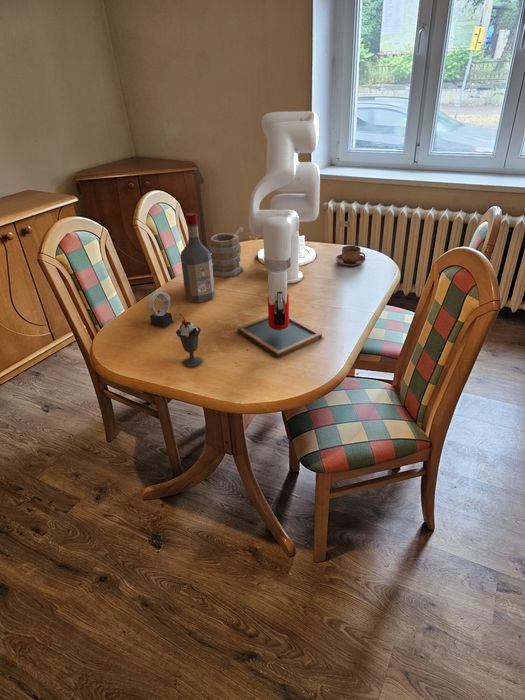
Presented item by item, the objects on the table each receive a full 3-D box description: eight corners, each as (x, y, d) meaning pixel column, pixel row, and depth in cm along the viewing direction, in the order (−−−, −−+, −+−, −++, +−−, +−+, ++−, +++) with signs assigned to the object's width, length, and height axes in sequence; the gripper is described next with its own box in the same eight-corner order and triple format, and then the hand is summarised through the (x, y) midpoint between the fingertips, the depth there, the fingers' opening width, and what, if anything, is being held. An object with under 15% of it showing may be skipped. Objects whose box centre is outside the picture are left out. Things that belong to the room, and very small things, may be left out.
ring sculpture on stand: (176, 319, 152) (172, 288, 146) (160, 330, 146) (155, 298, 140) (163, 316, 154) (158, 285, 148) (147, 326, 148) (141, 295, 143)
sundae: (181, 356, 132) (174, 310, 124) (204, 355, 132) (199, 308, 124) (179, 369, 126) (172, 321, 118) (204, 367, 127) (198, 320, 119)
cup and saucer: (365, 258, 193) (366, 244, 190) (364, 269, 183) (365, 254, 180) (337, 257, 196) (337, 243, 192) (334, 267, 186) (335, 252, 183)
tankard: (229, 279, 179) (227, 241, 171) (204, 273, 185) (200, 237, 177) (257, 262, 193) (255, 227, 185) (233, 257, 199) (230, 223, 191)
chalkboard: (237, 332, 143) (237, 327, 142) (279, 315, 152) (279, 311, 151) (278, 358, 130) (278, 353, 129) (321, 338, 138) (321, 333, 137)
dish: (275, 271, 184) (275, 244, 178) (248, 253, 203) (247, 228, 197) (326, 259, 194) (327, 233, 188) (296, 243, 213) (296, 218, 207)
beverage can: (269, 322, 142) (268, 286, 136) (289, 322, 142) (289, 287, 135) (267, 332, 137) (266, 295, 131) (288, 332, 137) (288, 295, 130)
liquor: (217, 298, 165) (209, 214, 149) (194, 305, 161) (183, 219, 145) (206, 289, 171) (197, 208, 155) (183, 295, 167) (172, 213, 151)
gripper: (262, 252, 136) (264, 307, 145) (265, 275, 121) (267, 334, 130) (288, 251, 136) (288, 306, 145) (294, 273, 121) (294, 333, 131)
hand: (278, 319), depth 138 cm, fingers closed on beverage can, 5 cm apart
